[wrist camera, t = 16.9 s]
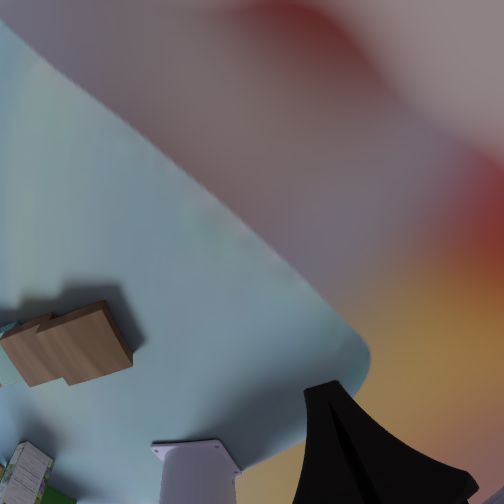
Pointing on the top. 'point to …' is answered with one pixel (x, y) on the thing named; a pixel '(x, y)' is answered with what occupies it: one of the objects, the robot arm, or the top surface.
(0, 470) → the cracker box
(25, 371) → the tile
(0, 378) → the teal tile
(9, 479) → the syrup box
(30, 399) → the top surface
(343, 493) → the robot arm
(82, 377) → the tile
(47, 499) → the hardback book
